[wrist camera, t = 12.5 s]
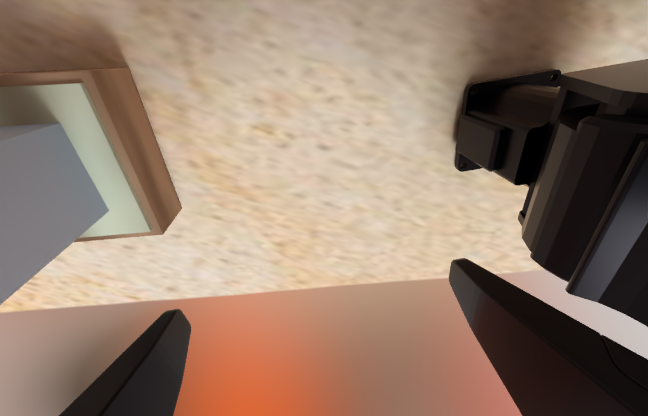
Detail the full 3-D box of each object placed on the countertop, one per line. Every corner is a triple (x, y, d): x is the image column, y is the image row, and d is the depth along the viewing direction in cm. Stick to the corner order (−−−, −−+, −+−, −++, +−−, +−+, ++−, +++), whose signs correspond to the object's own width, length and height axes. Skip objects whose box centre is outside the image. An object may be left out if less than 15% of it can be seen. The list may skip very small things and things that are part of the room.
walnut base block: (128, 66, 16) (85, 71, 12) (181, 208, 21) (161, 236, 18) (-51, 75, 15) (-145, 82, 12) (50, 218, 20) (3, 250, 17)
